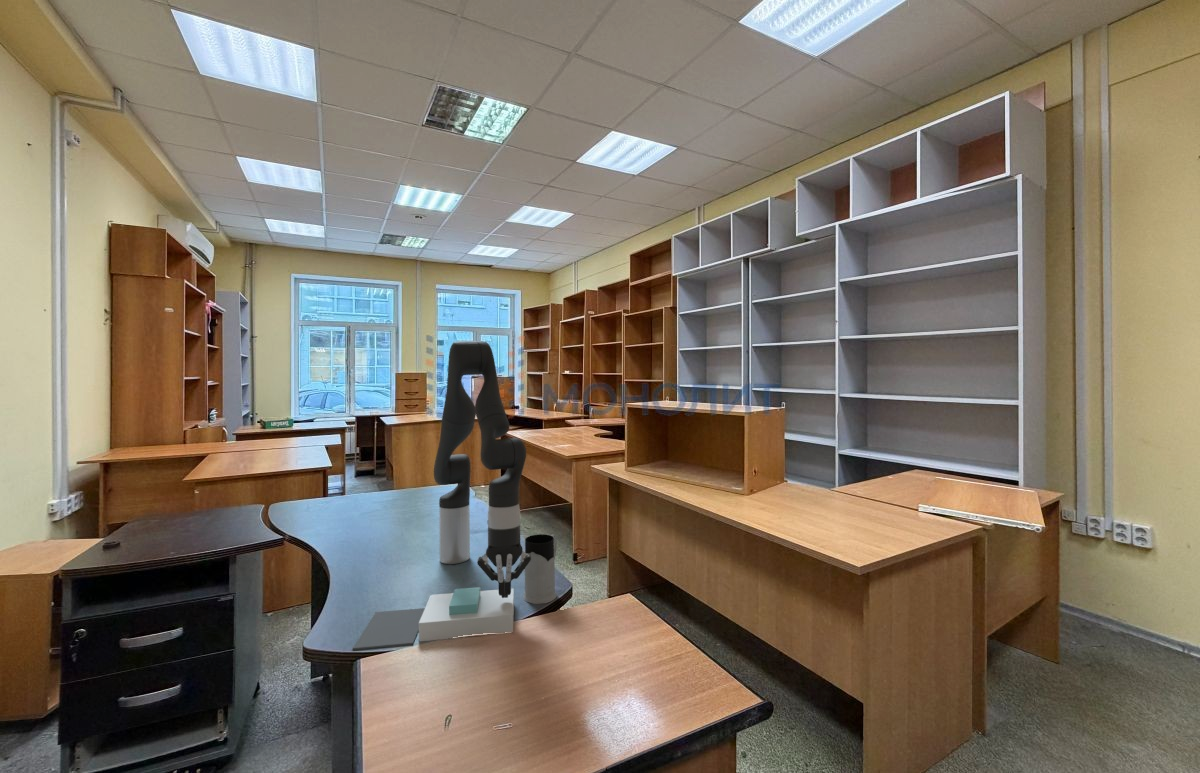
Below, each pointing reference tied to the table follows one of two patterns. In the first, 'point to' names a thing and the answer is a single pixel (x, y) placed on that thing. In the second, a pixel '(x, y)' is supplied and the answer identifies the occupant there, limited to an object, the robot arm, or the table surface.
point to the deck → (466, 617)
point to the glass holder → (540, 569)
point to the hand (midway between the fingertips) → (504, 596)
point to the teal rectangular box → (464, 601)
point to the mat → (390, 629)
